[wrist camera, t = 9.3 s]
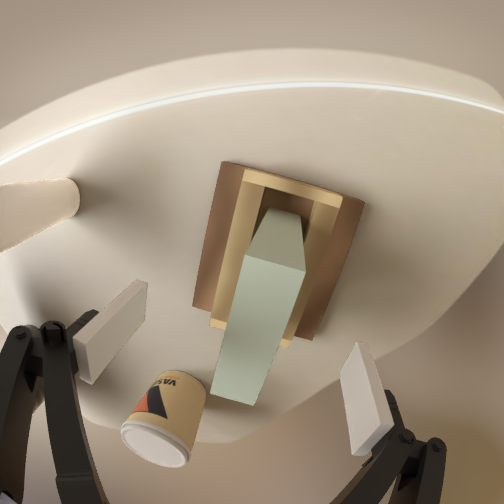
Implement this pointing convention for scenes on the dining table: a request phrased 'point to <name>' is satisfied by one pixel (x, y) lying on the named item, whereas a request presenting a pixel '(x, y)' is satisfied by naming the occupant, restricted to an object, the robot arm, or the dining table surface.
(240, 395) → the door panel
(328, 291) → the track board
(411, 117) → the dining table surface
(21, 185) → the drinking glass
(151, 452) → the coffee cup
